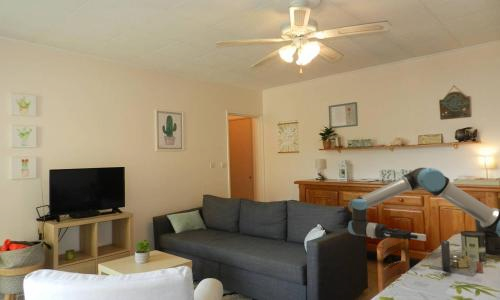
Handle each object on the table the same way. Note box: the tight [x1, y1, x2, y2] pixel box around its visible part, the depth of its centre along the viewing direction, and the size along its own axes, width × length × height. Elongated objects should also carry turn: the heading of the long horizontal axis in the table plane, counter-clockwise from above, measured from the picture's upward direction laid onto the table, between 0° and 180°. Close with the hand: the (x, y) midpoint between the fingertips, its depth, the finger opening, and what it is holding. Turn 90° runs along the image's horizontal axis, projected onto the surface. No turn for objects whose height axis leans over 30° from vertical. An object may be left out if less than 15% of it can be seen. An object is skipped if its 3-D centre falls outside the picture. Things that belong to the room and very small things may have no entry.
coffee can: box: [460, 230, 487, 265], centre depth 169 cm, size 10×10×14 cm
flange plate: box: [428, 253, 484, 277], centre depth 160 cm, size 18×20×6 cm
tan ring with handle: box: [440, 240, 471, 273], centre depth 158 cm, size 21×12×13 cm, turn 134°
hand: (425, 237), depth 159 cm, fingers closed
